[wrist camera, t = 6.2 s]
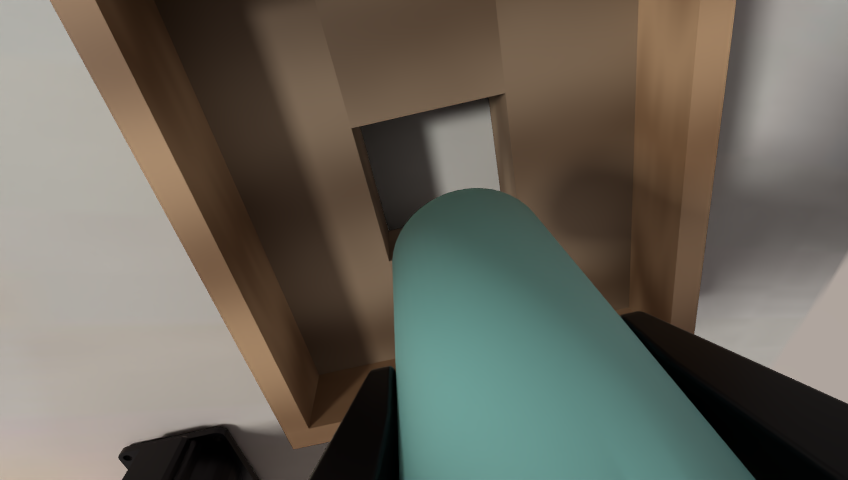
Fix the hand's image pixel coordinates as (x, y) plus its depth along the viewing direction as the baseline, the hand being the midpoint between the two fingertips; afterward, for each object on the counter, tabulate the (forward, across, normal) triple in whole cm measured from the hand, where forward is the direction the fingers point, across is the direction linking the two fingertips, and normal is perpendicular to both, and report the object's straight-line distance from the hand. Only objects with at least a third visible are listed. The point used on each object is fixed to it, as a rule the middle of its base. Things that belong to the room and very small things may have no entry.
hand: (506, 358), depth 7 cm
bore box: (+12, 0, 0) cm, 13 cm away
